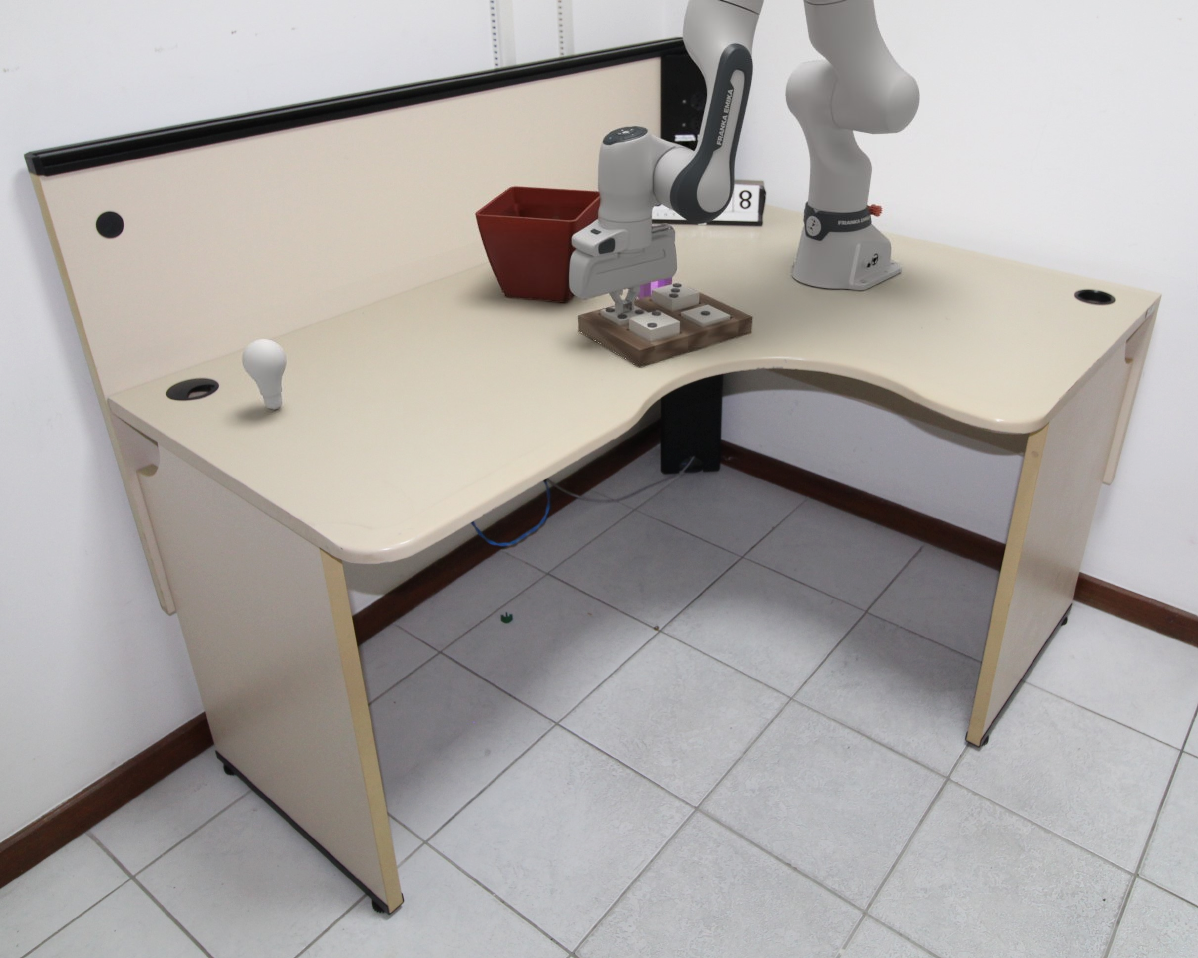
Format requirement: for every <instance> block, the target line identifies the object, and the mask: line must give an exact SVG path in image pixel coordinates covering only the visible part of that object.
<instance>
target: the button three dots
mask: <svg viewBox="0 0 1198 958" xmlns="http://www.w3.org/2000/svg"><path fill="white" fill-rule="evenodd" d="M691 288H692V287H690V288H689V286H687V285H684V284H682V283H681V282H676V283H672V284H671V285H667V286H663V287H659V288H656V289H652V299H651V302H653V303H655V304H657V305H659V306H661V307H663V308H665V309H667V310H669V311H671V312H673V311H676V310H680V309H683V308H687V307H690V306H694V305H698V304H699V292H700V291H698V290H695V289H694V288H692V289H691ZM693 289H694V290H693Z"/></svg>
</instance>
